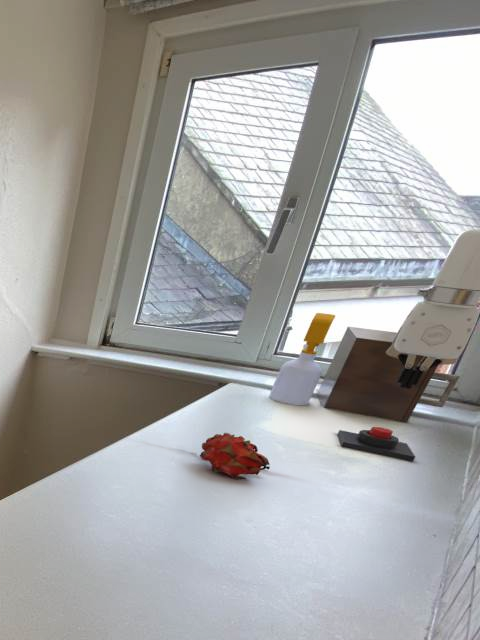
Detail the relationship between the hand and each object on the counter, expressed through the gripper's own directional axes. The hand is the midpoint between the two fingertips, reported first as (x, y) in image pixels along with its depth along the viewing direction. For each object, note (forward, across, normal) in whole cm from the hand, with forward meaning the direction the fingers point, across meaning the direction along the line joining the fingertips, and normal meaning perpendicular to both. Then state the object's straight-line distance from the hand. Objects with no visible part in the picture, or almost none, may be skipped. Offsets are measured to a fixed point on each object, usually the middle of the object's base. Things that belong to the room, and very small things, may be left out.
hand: (403, 386), depth 117 cm
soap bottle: (+15, -15, +32) cm, 39 cm away
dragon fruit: (+16, -26, -38) cm, 48 cm away
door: (+15, +13, +42) cm, 46 cm away
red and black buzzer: (+15, 0, 0) cm, 15 cm away
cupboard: (+15, +1, +42) cm, 45 cm away
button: (+11, 0, 0) cm, 12 cm away
